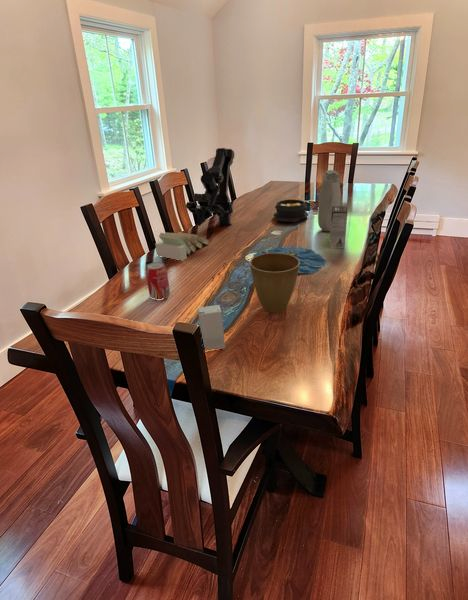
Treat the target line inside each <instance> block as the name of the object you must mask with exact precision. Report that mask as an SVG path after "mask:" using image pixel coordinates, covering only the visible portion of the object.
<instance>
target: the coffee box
mask: <svg viewBox="0 0 468 600" xmlns="http://www.w3.org/2000/svg"><path fill="white" fill-rule="evenodd" d="M347 221H348V205H344V206H343V205H342V206H332V214H331V230H330V231H329V232H330V233H329V234H330V236H329V237H330V238H329V249H346V248H345V245H346V234H347V233H346V232H347Z"/></svg>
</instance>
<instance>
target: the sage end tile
mask: <svg viewBox="0 0 468 600" xmlns="http://www.w3.org/2000/svg"><path fill="white" fill-rule="evenodd" d="M158 235H159V236H158V237H159V239H160V240H161V242H166V243H172V244H178V245H183V246H186V255H190V254H191V253H192V252H191V250H190V249H189V248H188V246H187V245H186V244H185V242H184V241H183V240H182V238H181V237H180V236H178V235H172V234H166V232H160V233H159V234H158Z"/></svg>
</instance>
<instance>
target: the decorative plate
mask: <svg viewBox="0 0 468 600" xmlns="http://www.w3.org/2000/svg"><path fill="white" fill-rule="evenodd" d="M266 253H283V254H288V255H292V256H294V257H296V258H297V259H298V260H299V261H300V264H299V269H298V274H306V275H308V274H315V273H316V272H318V271H319V270H321V269H322V268H324V267H325V265H326V263H327V260H326V259H325V258H324V257H323V256H322V255H320V254H319V253H316V252H315V251H314V250H313V249H311V248H308V247H302V246H291V245H290V246H286V245H285V246H278V247H274V248H268V249H265V250H264V249H263V250H260V251H258V252H256V253H254V254H253V257H252V258H254V257H255V256H258V255H261V254H266Z"/></svg>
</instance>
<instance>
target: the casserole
mask: <svg viewBox="0 0 468 600" xmlns="http://www.w3.org/2000/svg"><path fill="white" fill-rule="evenodd" d="M274 208H275V209H276V212H274V213H273V217H274V218H275V220H276V221H279V222H284V223H285V222H286V223H287V222H288V223H289V222H290V223H292V222H298V221H300V220H302V219H305V218H307V217H308V216H309V213H308V212H307V211H306V210H307V208H308V205H307V204H306V202H305V201H304V200H301V199H284V200H279V201H277V202H276V205H275V206H274Z"/></svg>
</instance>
